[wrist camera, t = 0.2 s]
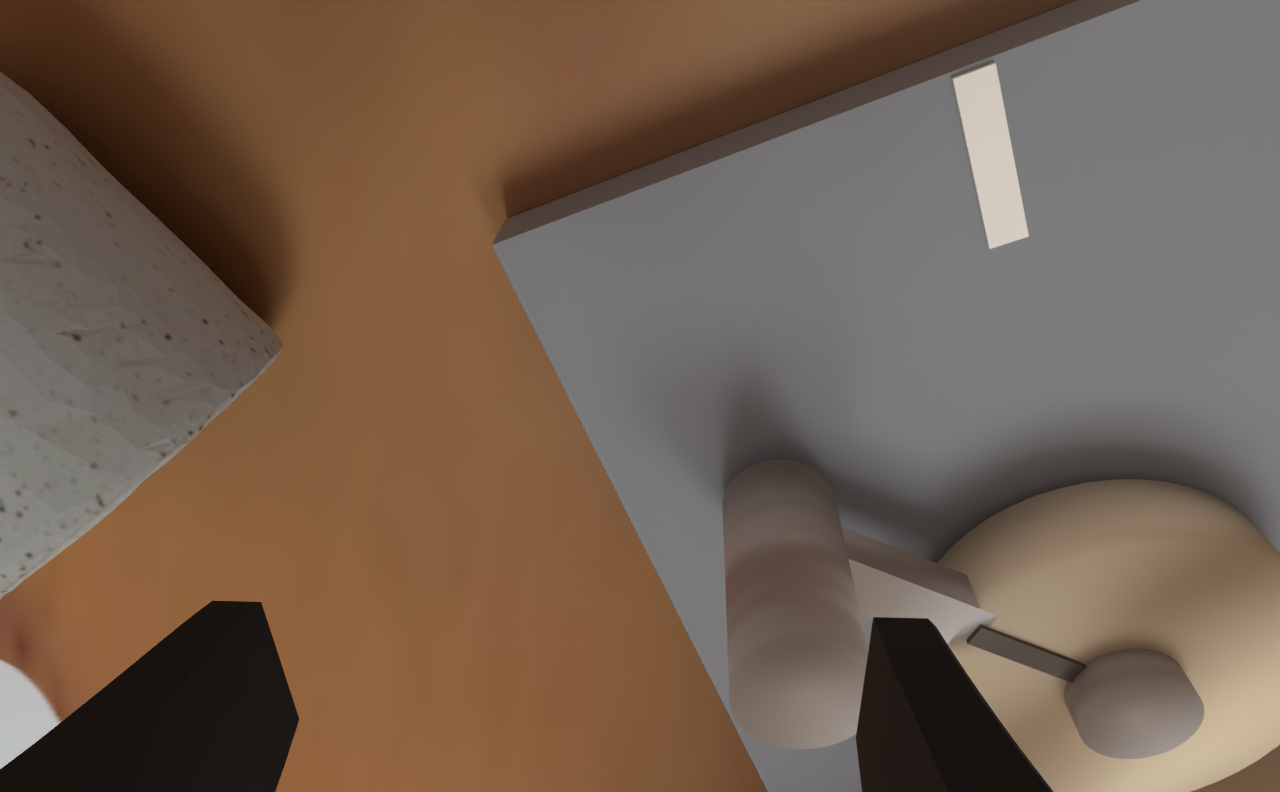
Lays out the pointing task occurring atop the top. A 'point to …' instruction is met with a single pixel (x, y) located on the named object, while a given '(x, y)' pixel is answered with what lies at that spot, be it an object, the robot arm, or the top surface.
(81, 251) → the ceramic mug
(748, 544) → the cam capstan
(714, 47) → the top surface
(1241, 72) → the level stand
